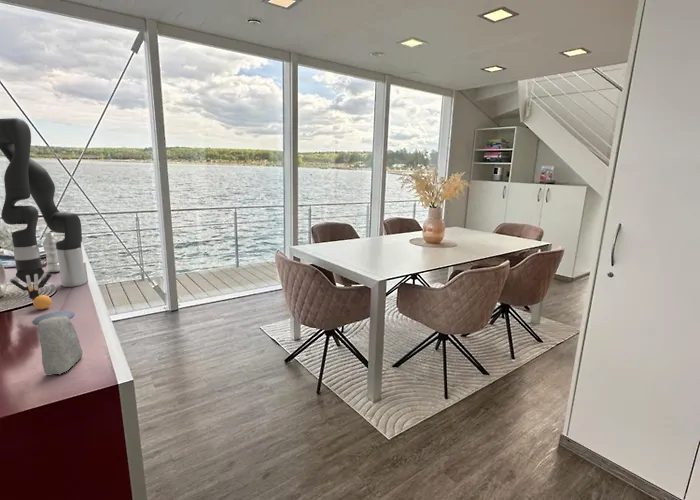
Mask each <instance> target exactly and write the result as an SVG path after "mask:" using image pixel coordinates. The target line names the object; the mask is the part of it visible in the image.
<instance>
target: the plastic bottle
mask: <svg viewBox="0 0 700 500" xmlns="http://www.w3.org/2000/svg"><path fill="white" fill-rule="evenodd" d="M44 238H45V239H44V240H43V242H42V247H43V249H44V253H45V257H46V270H47V271H48V273H58V272H59V273H60V269H59V263H58V257H57V250H56V243H57V242H59V241H58V240H57V239H56V238H55V232H47V233H44Z"/></svg>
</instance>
